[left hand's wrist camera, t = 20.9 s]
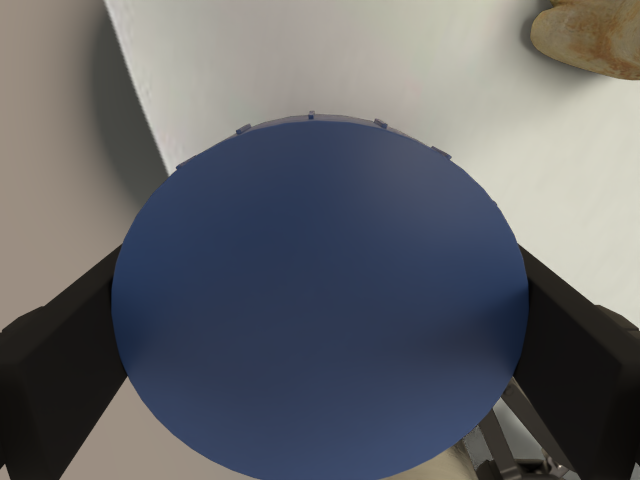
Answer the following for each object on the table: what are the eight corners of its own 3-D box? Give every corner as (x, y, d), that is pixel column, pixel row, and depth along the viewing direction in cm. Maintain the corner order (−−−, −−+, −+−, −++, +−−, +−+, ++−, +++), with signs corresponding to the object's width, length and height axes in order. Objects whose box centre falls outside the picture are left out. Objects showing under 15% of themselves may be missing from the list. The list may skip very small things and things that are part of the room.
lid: (145, 419, 13) (118, 472, 12) (136, 88, 10) (96, 89, 8) (453, 448, 14) (473, 502, 12) (544, 139, 10) (591, 150, 9)
